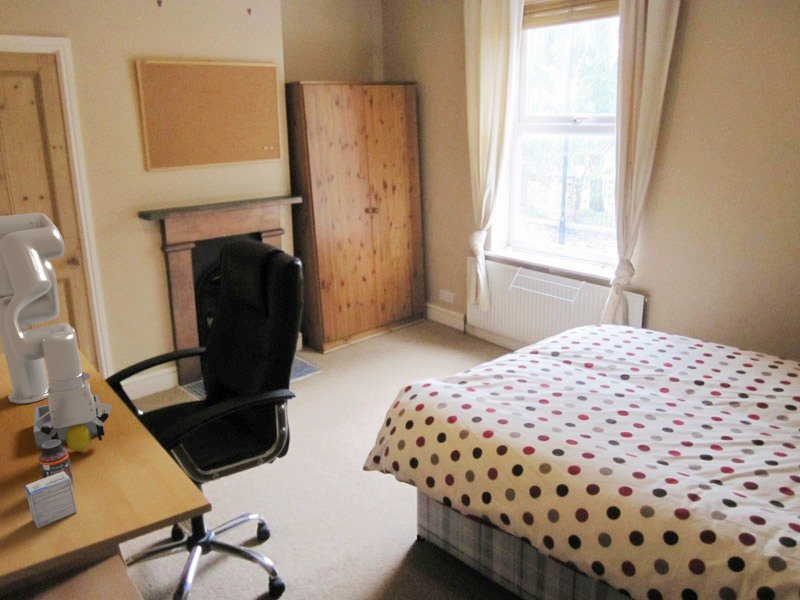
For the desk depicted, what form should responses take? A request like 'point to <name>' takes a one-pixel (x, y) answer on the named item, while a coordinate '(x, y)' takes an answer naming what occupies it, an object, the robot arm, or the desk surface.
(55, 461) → the supplement bottle
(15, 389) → the robot arm
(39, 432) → the tote
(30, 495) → the medicine box
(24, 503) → the desk surface
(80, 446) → the lemon
